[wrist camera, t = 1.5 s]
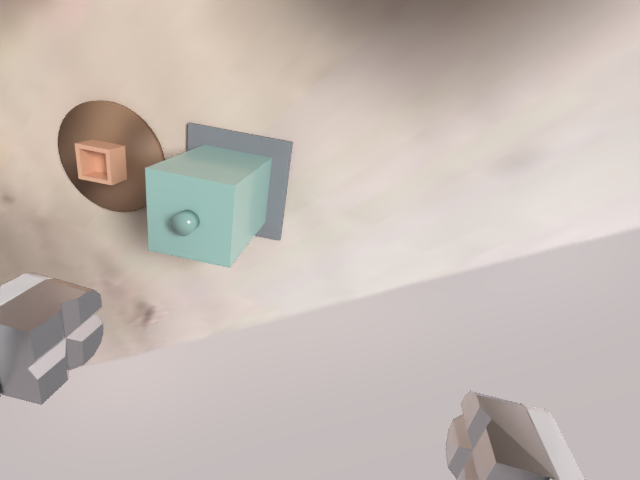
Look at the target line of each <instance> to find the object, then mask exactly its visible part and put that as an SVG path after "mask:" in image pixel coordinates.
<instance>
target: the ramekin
mask: <svg viewBox="0 0 640 480" xmlns="http://www.w3.org/2000/svg"><path fill="white" fill-rule="evenodd" d="M75 152H76V161H77V169H78V178H79V179H82V180H87V181H92V182H97V183H102V184H107V185H114V184H117V183H119V182H122V181H124V180H127V169H126V152H125V146H124V145H119V144H114V143H108V142H103V141H98V140H93V139H92V140H87V141H83V142H78V143H75Z"/></svg>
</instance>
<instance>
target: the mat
mask: <svg viewBox="0 0 640 480" xmlns="http://www.w3.org/2000/svg"><path fill="white" fill-rule="evenodd" d="M203 145H209V146H214V147H219V148H225V149H230V150H235V151H240V152H246V153H251V154H256V155H261V156H266V157H272V163H271V172H270V182H269V192H268V201H267V211H266V221H265V223H264V224H263V226H262V227H261V228H260V230H259V231H258V232H257V233H256V236H261V237H266V238H271V239H276V240H280V239H281V233H282V225H283V217H284V209H285V201H286V193H287V185H288V177H289V169H290V161H291V153H292V145H293V142H290V141H285V140H280V139H274V138H269V137H264V136H258V135H253V134H248V133H242V132H237V131H232V130H226V129H221V128H216V127H210V126H205V125H200V124H194V123H188V151H190V150H192V149H195V148H197V147H200V146H203Z"/></svg>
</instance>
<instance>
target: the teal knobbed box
mask: <svg viewBox="0 0 640 480" xmlns="http://www.w3.org/2000/svg"><path fill="white" fill-rule="evenodd" d="M271 163H272V157H266V156H261V155H256V154H251V153H246V152H240V151H235V150H230V149H225V148H219V147H214V146H209V145H203V146H200V147H197V148H195V149H192V150H190V151H187V152H185V153H182V154H179V155H177V156H174V157H172V158H169V159H167V160H164V161H161V162H159V163H156V164H154V165H151V166H149V167H146V168H145V177H146V202H147V227H148V250H149V251H153V252H158V253H163V254H167V255H172V256H177V257H182V258H186V259H191V260H196V261H200V262H205V263H210V264H214V265H219V266H224V267H229V268H230V267H231V266H232V264H233V263H234V262H235V260H236V259H237V258H238V257H239V255H240V254H241V253H242V251H243V250H244V249H245V248H246V246H247V245H248V244H249V242H250V241H251V240H252V239H253V237H254V236H255V235H256V233H257V232H258V231H259V230H260V228H261V227H262V226H263V224H264V223H265V221H266V211H267V201H268V192H269V182H270V172H271Z"/></svg>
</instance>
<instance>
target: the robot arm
mask: <svg viewBox="0 0 640 480" xmlns="http://www.w3.org/2000/svg"><path fill="white" fill-rule="evenodd" d="M101 307H102V303H101V294H99V293H98V292H96V291H95V290H92V289H89V288H85V287H82V286H78V285H75V284H72V283H68V282H65V281H61V280H58V279H55V278H54V279H53V278H50V277H46V276H43V275H39V274H36V273H25V274H22V275H20V276H18V277H17V278H15V279H13V280H11V281H9V282H7V283H5V284H3V285H1V286H0V394H2V395H6V396H10V397H14V398H18V399H21V400H26V401H29V402H33V403H37V404H41V405H42V404H43V403H44V402H45V401H46V400H47V399H48V398H49V397H50V396H51V395H52V394H53V393H55V391H57V390H58V389H59V388H60V387H61V386H62V385H63V384H64V383H65V382H66V381H67V380H68V375H69V370H71V369H74V368H77V367H79V366H82V365H84V364H85V363H86V362H87V361H88V360H89V359H90V358H91V357H92V356H93V355H94V354H95V352H96V350H97V348H98V347H99V345H100V343H101V340H102V336H103V323H102V321H101V320H100V318H99V317H98V316H97V314H96V313H97V312H98V311H99V310H100V309H101ZM0 396H1V395H0ZM461 407H462V411H463V415H461V416H458V417H457V418H455V419H453V421H452V423H451V426H450V428H449V430H448V435H447V441H446V457H447V464H448V468H449V469H450V471H451V472H452V473H453V475H454V476H455V478H456V479H457V480H585V479H584V478H583V476H582V474H581V472H580V470H579V468H578V466H577V464H576V462H575V460H574V458H573V456H572V454H571V452H570V450H569V448H568V446H567V444H566V442H565V440H564V438H563V436H562V434H561V432H560V430H559V429H558V426H557V424H556V422H555V420H554V418H553V417H552V415H551V414H550V413H549V412H548V411H547V410H545V409H541V408H537V407H533V406H529V405H525V404H521V403H520V404H518V403H515V402H511V401H507V400H503V399H500V398H496V397H492V396H488V395H484V394H481V393H477V392H473V391H470V392H469V393H467V394H466V395H465V397H464V399H463V401H462V403H461Z"/></svg>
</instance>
